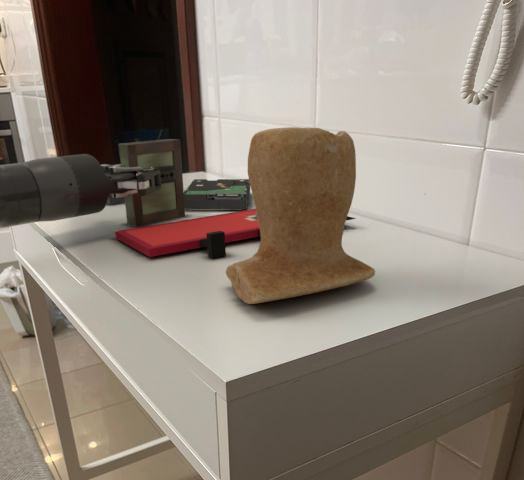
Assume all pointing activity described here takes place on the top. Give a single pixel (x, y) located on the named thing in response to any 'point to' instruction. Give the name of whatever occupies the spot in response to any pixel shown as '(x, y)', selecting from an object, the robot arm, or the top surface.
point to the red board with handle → (194, 234)
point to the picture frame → (171, 194)
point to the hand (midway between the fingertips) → (169, 172)
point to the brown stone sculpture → (299, 215)
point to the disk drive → (217, 194)
